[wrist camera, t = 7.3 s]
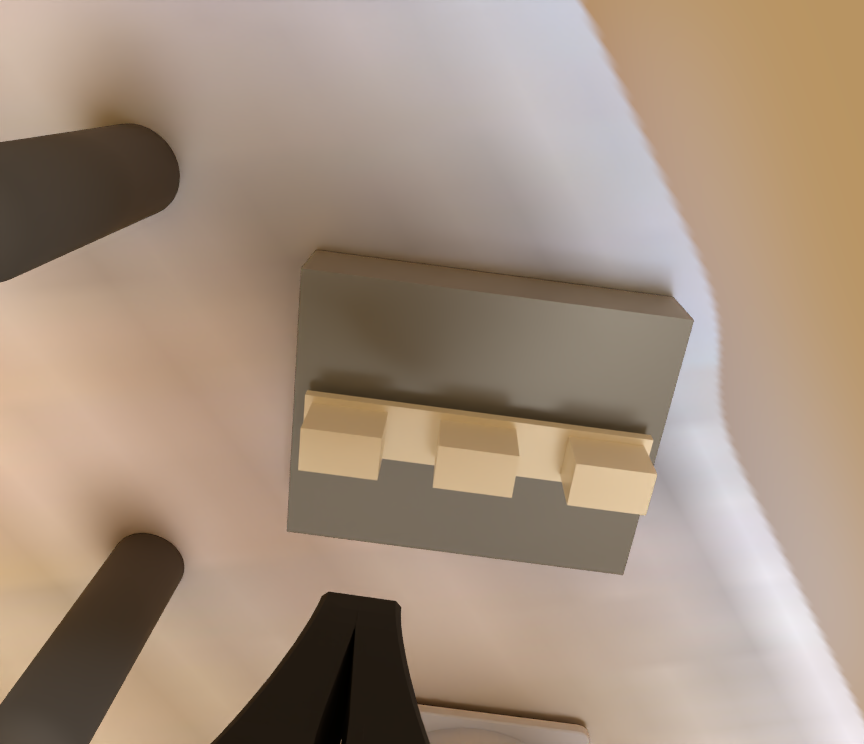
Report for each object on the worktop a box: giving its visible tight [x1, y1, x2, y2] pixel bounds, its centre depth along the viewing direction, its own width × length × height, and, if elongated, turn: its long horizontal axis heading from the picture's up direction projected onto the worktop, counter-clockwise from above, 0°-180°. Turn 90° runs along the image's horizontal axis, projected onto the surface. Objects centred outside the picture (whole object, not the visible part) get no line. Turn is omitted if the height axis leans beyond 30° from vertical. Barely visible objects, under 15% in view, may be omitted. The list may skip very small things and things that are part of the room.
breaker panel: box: [287, 250, 694, 575], centre depth 21 cm, size 8×10×2 cm
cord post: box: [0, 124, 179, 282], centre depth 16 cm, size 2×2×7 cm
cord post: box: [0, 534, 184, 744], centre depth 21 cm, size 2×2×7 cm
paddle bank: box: [298, 390, 657, 515], centre depth 19 cm, size 2×9×2 cm, turn 83°
